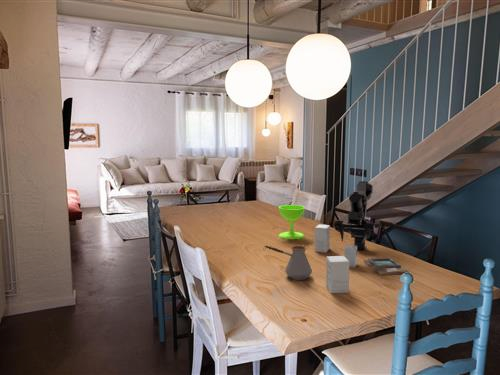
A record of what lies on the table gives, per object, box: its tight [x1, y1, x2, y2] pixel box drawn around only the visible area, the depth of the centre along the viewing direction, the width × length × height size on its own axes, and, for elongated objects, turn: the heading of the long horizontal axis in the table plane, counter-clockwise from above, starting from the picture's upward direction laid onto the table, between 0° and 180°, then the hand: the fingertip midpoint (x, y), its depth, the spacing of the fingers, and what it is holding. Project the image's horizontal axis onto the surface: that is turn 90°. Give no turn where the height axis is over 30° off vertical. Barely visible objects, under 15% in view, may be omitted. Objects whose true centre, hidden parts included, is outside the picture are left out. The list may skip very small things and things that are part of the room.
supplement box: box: [325, 255, 350, 294], centre depth 151 cm, size 7×7×13 cm
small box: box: [314, 223, 331, 253], centre depth 206 cm, size 8×6×13 cm
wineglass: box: [278, 204, 306, 240], centre depth 235 cm, size 16×16×18 cm
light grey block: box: [343, 244, 358, 269], centre depth 181 cm, size 5×5×9 cm
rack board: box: [363, 257, 409, 276], centre depth 177 cm, size 18×13×2 cm
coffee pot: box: [263, 245, 313, 281], centre depth 164 cm, size 21×12×15 cm, turn 104°
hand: (352, 241), depth 183 cm, fingers open, 9 cm apart
